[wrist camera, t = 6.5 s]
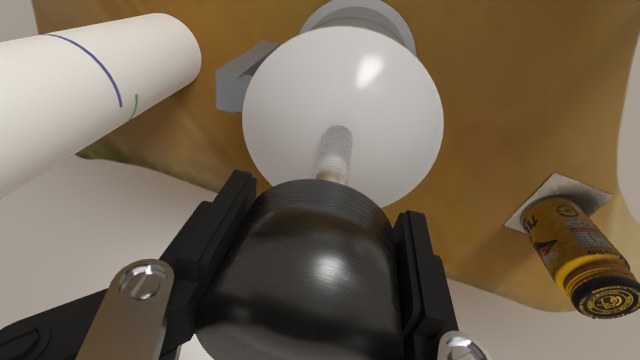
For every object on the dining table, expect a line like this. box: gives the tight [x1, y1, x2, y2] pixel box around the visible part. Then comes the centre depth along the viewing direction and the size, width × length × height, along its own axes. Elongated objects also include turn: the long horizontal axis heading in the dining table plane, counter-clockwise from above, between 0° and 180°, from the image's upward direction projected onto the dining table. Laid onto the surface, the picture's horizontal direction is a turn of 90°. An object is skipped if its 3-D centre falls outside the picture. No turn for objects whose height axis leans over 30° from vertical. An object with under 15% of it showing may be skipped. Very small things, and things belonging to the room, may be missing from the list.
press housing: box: [216, 0, 444, 208], centre depth 24 cm, size 14×12×16 cm
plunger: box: [194, 125, 404, 360], centre depth 12 cm, size 5×5×11 cm
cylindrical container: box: [0, 13, 202, 199], centre depth 22 cm, size 7×7×25 cm
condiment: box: [504, 173, 640, 319], centre depth 31 cm, size 7×8×12 cm
